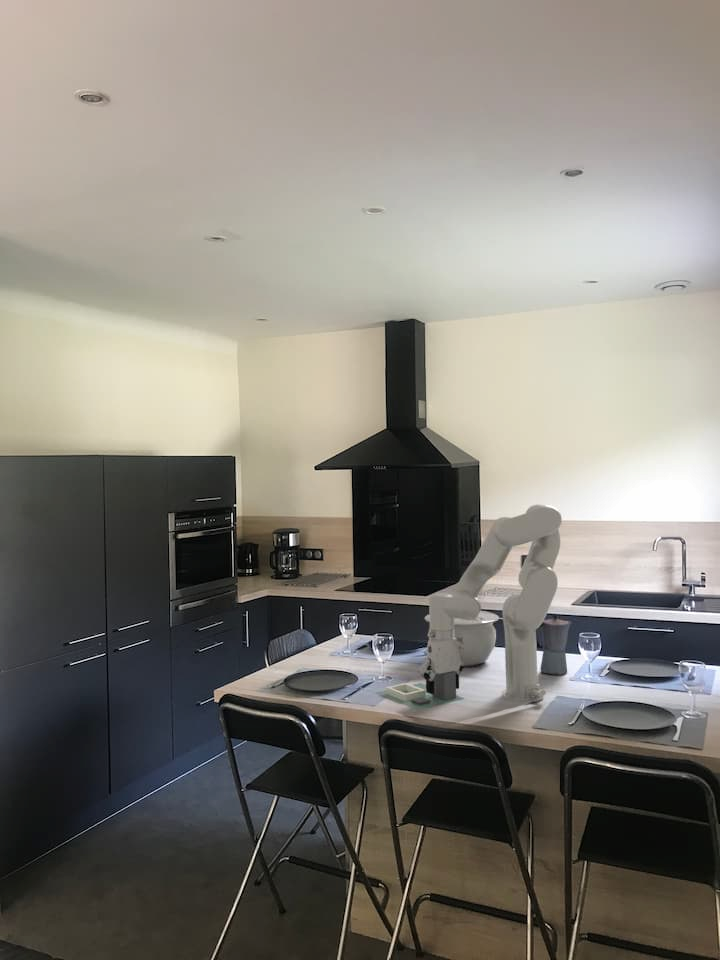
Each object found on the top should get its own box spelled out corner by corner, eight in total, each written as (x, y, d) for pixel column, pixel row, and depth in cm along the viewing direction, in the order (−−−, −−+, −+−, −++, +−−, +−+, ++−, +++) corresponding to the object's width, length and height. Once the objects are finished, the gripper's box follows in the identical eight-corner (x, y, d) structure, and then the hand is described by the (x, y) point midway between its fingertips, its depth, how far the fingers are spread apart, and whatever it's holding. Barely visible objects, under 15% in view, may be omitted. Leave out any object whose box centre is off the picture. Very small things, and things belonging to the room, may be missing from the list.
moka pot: (580, 672, 259) (578, 614, 258) (542, 678, 253) (541, 619, 253) (563, 666, 267) (561, 610, 267) (526, 672, 262) (524, 614, 262)
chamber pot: (500, 672, 262) (498, 613, 262) (421, 670, 268) (419, 612, 267) (501, 653, 289) (499, 599, 289) (430, 652, 295) (428, 599, 295)
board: (465, 702, 229) (464, 691, 229) (417, 713, 219) (417, 703, 219) (420, 686, 248) (420, 676, 248) (375, 696, 238) (375, 686, 238)
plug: (456, 697, 230) (455, 671, 230) (444, 700, 227) (444, 674, 227) (442, 692, 236) (441, 667, 236) (430, 695, 233) (430, 669, 233)
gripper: (427, 640, 223) (428, 698, 223) (471, 633, 233) (472, 688, 233) (412, 636, 230) (412, 692, 230) (455, 629, 239) (456, 683, 239)
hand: (442, 690), depth 231 cm, fingers open, 9 cm apart
